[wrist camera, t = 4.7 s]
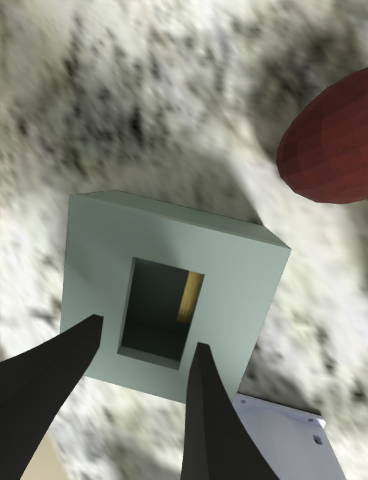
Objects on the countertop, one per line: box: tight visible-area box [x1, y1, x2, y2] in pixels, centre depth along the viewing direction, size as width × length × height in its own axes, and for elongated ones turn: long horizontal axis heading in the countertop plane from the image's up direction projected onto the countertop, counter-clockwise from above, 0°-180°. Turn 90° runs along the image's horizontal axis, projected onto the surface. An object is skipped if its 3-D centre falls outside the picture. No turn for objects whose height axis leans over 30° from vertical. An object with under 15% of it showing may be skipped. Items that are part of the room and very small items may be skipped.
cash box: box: [60, 190, 292, 404], centre depth 17 cm, size 13×13×6 cm
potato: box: [276, 67, 368, 204], centre depth 14 cm, size 7×8×6 cm
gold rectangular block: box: [177, 271, 204, 325], centre depth 19 cm, size 2×5×4 cm
